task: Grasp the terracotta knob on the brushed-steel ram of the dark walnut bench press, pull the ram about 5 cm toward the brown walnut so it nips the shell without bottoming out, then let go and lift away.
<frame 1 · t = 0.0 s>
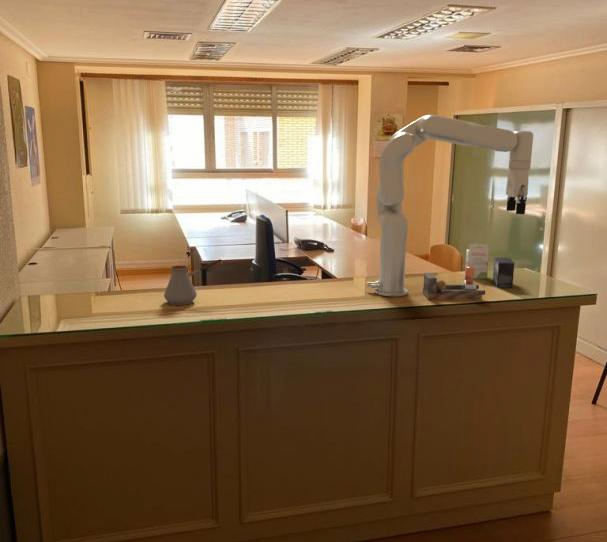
hand: (515, 212, 221), 31 cm above the table, fingers open, 9 cm apart
press bench: (451, 296, 223), on the table
ink box: (475, 277, 254), on the table
small box: (502, 285, 241), on the table
ram: (469, 279, 222), point 7 cm above the table, slide at 0.0 cm
coffee pot: (194, 301, 215), on the table
walnut: (439, 296, 223), resting on press bench
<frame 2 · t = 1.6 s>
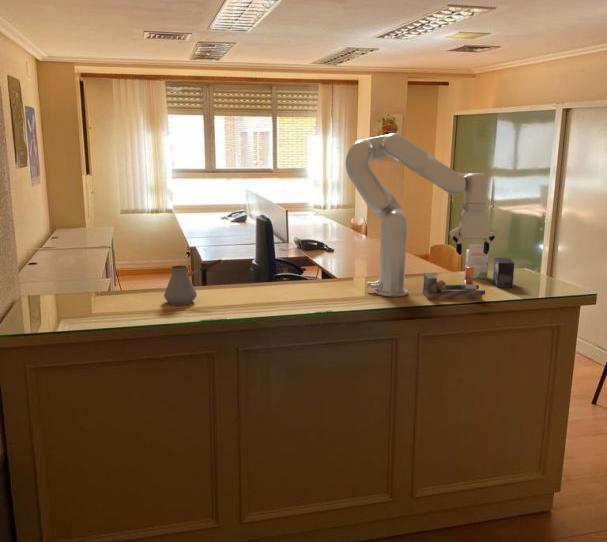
hand: (472, 253, 219), 16 cm above the table, fingers open, 9 cm apart
nothing on the table moved.
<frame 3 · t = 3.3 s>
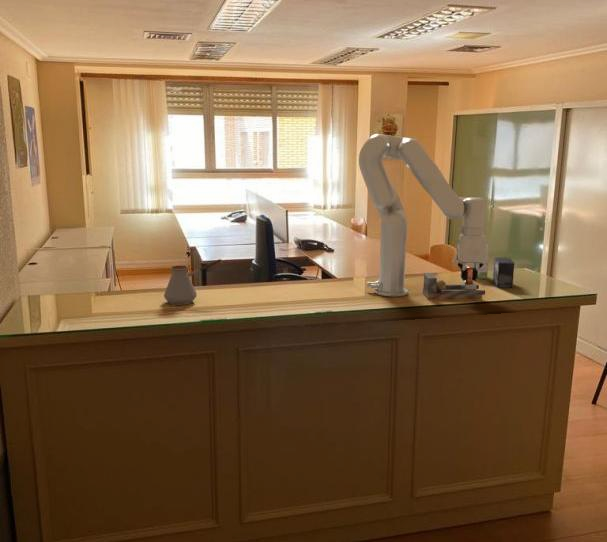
hand: (468, 279, 222), 7 cm above the table, fingers closed on ram, 3 cm apart
ram: (469, 279, 222), point 7 cm above the table, slide at 0.0 cm, touching gripper
everything else where it was.
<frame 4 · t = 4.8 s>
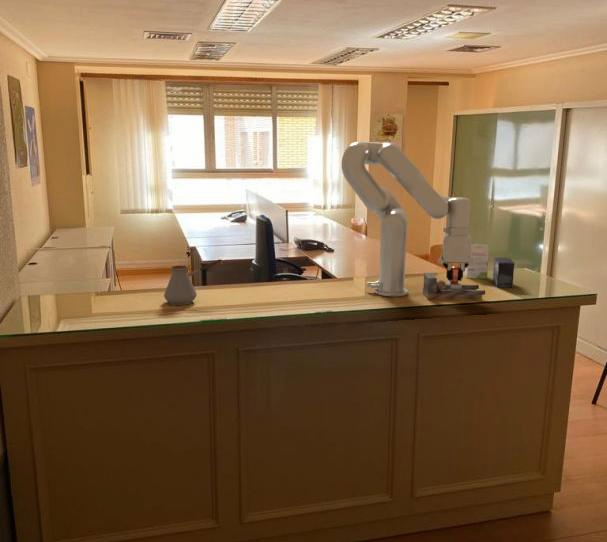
hand: (454, 279, 222), 7 cm above the table, fingers closed on ram, 3 cm apart
ram: (454, 278, 222), point 7 cm above the table, slide at 5.5 cm, touching gripper
everything else where it was.
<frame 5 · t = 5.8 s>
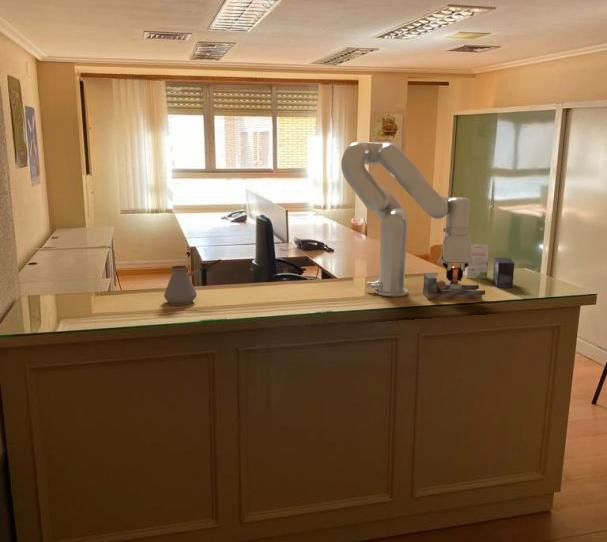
hand: (454, 279, 222), 7 cm above the table, fingers closed on ram, 3 cm apart
ram: (454, 278, 222), point 7 cm above the table, slide at 5.5 cm, touching gripper
everything else where it was.
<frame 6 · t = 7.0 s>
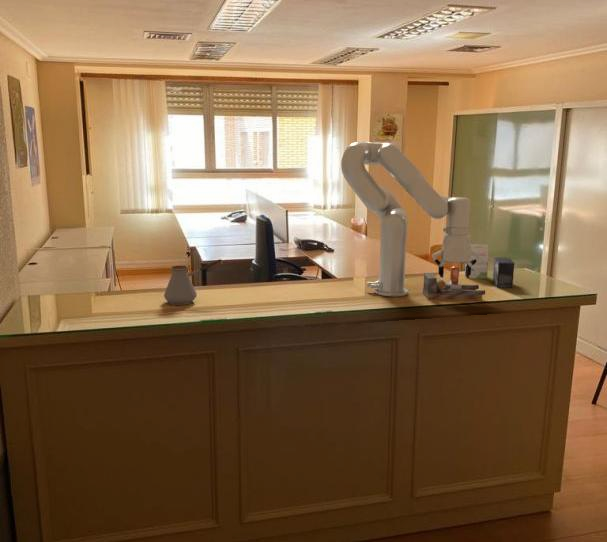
hand: (454, 276, 221), 8 cm above the table, fingers open, 9 cm apart
ram: (454, 278, 222), point 7 cm above the table, slide at 5.5 cm
everything else where it was.
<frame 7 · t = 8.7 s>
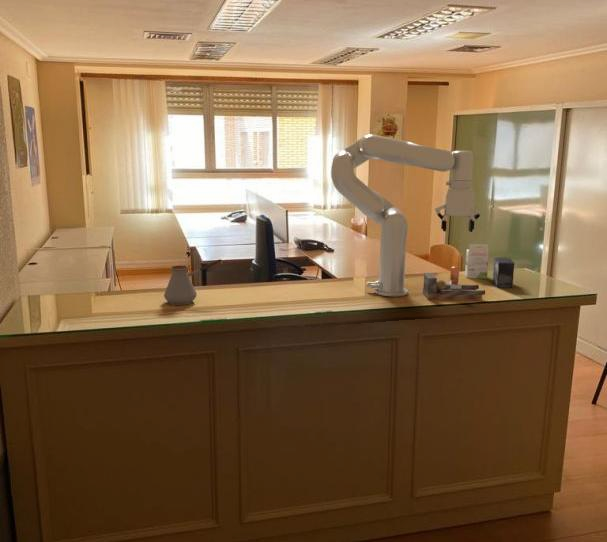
hand: (457, 231, 221), 24 cm above the table, fingers open, 9 cm apart
nothing on the table moved.
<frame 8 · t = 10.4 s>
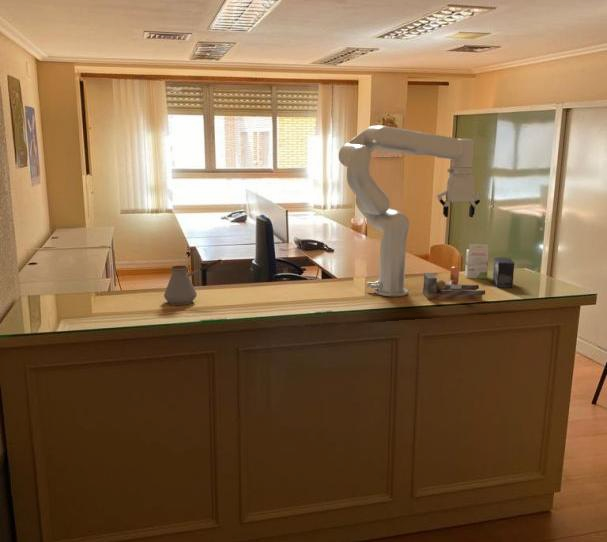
hand: (458, 216, 229), 28 cm above the table, fingers open, 9 cm apart
nothing on the table moved.
at the end: ram slide at 5.5 cm; the gripper is holding nothing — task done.
